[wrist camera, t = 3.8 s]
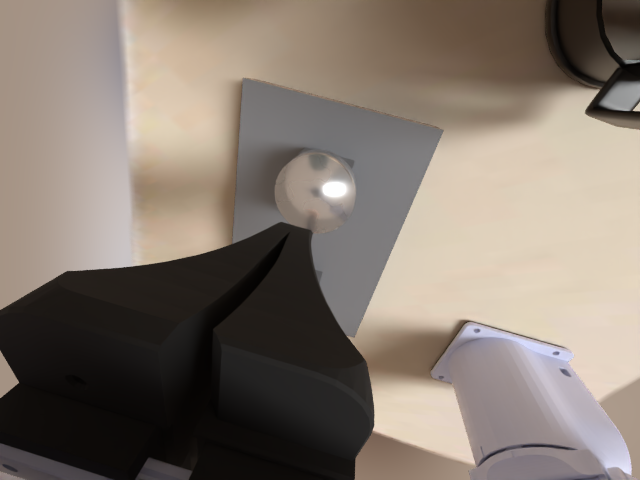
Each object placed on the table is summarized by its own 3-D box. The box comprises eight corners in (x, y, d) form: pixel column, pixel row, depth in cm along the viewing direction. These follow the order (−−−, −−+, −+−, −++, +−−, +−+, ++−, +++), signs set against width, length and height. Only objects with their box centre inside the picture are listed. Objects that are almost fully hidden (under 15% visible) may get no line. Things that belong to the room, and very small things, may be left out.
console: (436, 126, 17) (453, 134, 13) (355, 321, 26) (353, 356, 22) (255, 79, 17) (226, 75, 14) (237, 287, 26) (217, 316, 23)
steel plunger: (367, 148, 18) (366, 168, 13) (349, 206, 20) (342, 242, 15) (304, 131, 18) (280, 145, 13) (293, 191, 20) (269, 221, 15)
